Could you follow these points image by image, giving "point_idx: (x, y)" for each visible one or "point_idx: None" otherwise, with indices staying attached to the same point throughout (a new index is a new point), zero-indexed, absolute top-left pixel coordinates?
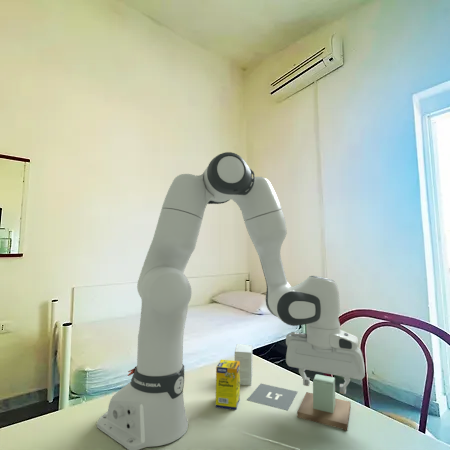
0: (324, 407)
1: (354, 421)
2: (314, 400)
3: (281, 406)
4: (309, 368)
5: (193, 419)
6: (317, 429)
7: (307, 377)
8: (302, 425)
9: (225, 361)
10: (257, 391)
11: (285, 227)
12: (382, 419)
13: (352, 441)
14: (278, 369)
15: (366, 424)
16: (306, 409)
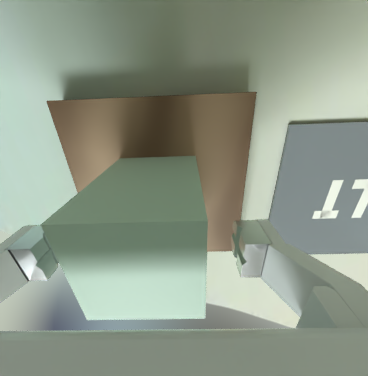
0: (148, 160)
1: (68, 175)
2: (191, 167)
3: (316, 141)
4: (285, 358)
5: None
6: (157, 44)
7: (254, 274)
8: (219, 41)
9: None
10: None
11: None
12: (14, 222)
13: (17, 29)
14: None
15: (34, 176)
16: (219, 133)
